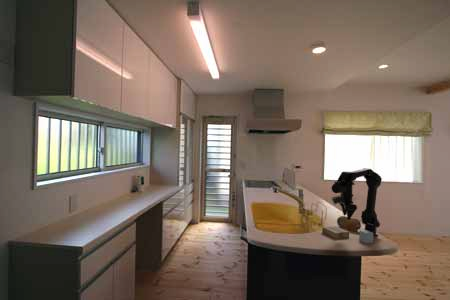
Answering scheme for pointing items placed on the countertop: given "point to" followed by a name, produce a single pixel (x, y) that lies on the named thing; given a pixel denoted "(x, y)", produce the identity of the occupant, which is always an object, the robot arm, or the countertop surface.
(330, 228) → the walnut block
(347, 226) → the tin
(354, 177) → the robot arm
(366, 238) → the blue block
